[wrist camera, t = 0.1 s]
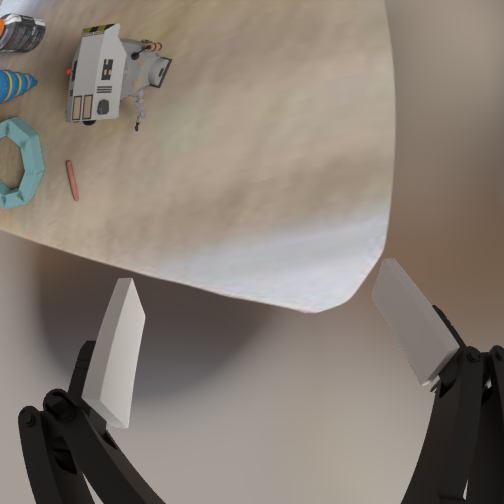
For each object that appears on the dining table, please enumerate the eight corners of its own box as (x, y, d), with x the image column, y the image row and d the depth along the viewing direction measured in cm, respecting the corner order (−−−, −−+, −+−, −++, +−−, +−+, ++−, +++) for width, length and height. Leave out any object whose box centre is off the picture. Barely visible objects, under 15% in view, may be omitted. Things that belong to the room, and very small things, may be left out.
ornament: (21, 95, 25) (-42, 112, 12) (30, 65, 22) (-34, 71, 10) (42, 99, 26) (-22, 115, 14) (52, 67, 24) (-12, 71, 12)
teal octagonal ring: (-18, 134, 25) (-26, 137, 23) (35, 108, 27) (26, 110, 25) (-2, 206, 34) (-9, 212, 31) (50, 194, 35) (43, 200, 33)
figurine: (92, 111, 30) (34, 129, 17) (120, 37, 25) (70, 16, 12) (147, 126, 33) (109, 148, 20) (178, 50, 27) (155, 27, 15)
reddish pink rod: (67, 160, 33) (65, 162, 32) (71, 159, 33) (69, 161, 32) (76, 200, 37) (74, 202, 36) (80, 199, 37) (77, 201, 36)
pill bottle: (45, 12, 18) (4, 3, 8) (48, 39, 21) (4, 34, 12) (18, 32, 18) (-25, 30, 8) (21, 58, 21) (-24, 61, 12)
